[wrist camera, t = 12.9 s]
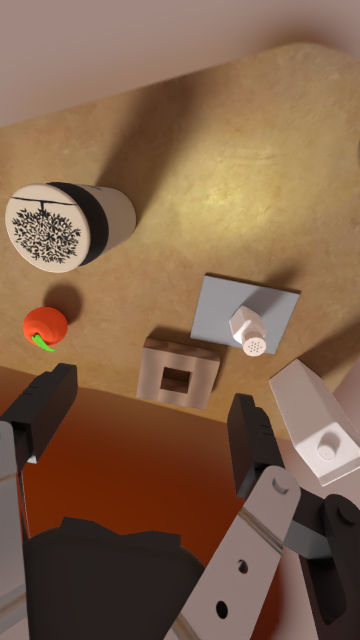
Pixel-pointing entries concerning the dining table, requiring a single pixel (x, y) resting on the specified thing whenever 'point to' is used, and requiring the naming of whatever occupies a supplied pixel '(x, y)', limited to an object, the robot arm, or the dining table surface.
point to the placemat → (226, 299)
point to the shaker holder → (182, 358)
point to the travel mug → (67, 223)
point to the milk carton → (316, 423)
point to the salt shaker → (248, 331)
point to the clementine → (45, 327)
